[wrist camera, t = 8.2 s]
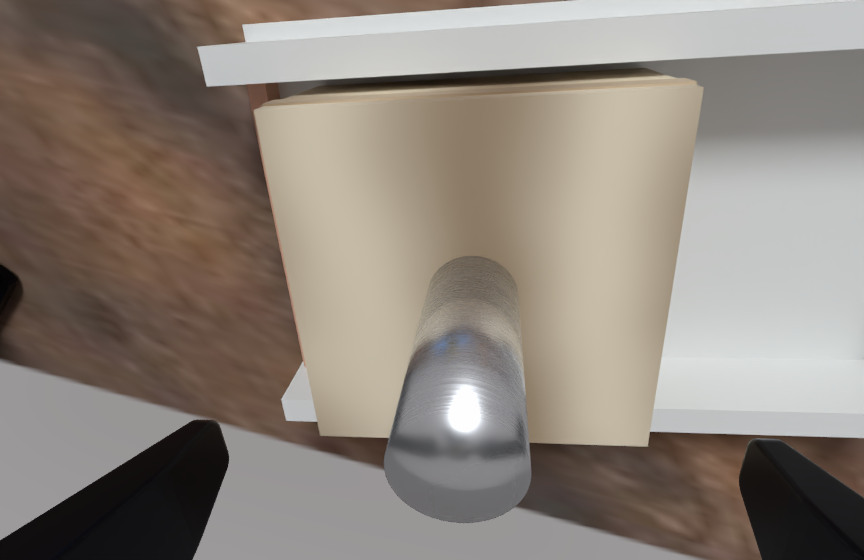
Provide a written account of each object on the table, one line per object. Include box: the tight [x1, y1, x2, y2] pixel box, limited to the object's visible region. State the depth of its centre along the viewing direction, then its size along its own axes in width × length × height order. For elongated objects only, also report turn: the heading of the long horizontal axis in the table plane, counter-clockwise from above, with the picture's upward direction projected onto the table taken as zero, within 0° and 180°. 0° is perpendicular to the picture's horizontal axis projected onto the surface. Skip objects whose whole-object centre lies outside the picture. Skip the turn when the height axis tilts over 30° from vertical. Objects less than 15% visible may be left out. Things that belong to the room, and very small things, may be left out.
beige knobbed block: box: [254, 68, 704, 523], centre depth 13 cm, size 10×10×11 cm
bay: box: [198, 0, 864, 438], centre depth 16 cm, size 23×14×6 cm, turn 94°
